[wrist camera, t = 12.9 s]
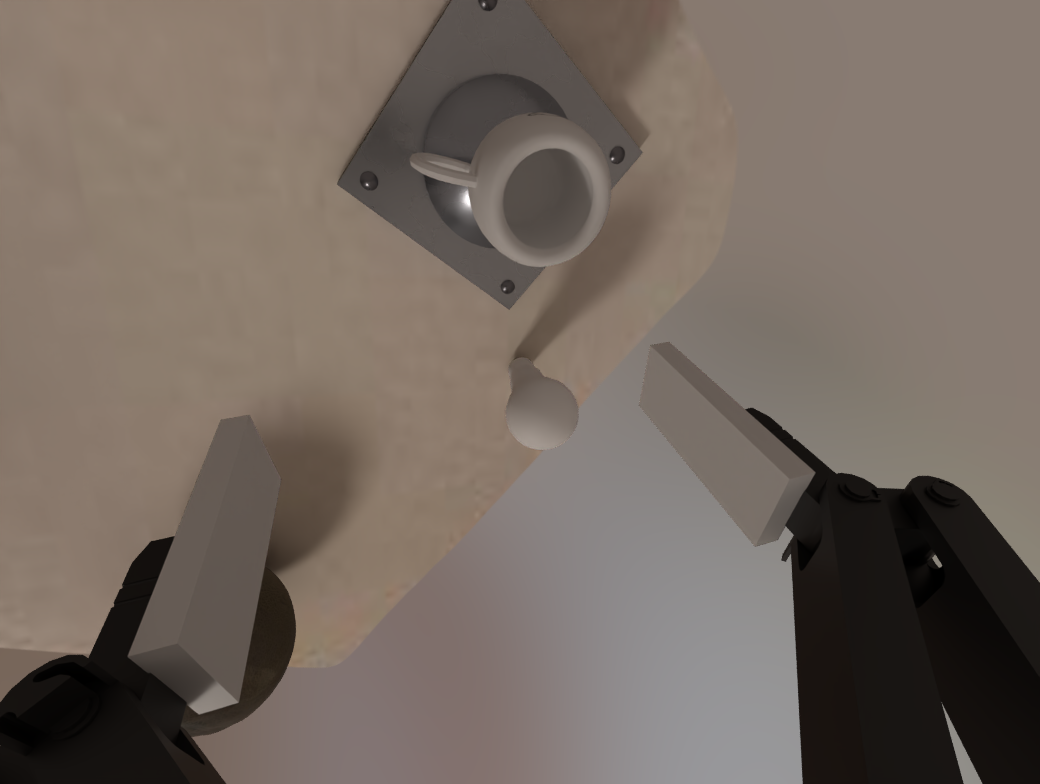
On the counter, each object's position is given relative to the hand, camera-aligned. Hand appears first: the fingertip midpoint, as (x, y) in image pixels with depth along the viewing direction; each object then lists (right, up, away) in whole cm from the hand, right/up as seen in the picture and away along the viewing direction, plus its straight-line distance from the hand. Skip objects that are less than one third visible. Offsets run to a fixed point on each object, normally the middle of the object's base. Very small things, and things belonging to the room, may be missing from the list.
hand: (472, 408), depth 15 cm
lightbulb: (+1, +3, +29) cm, 29 cm away
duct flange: (0, +17, +18) cm, 25 cm away
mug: (0, +16, +16) cm, 23 cm away
